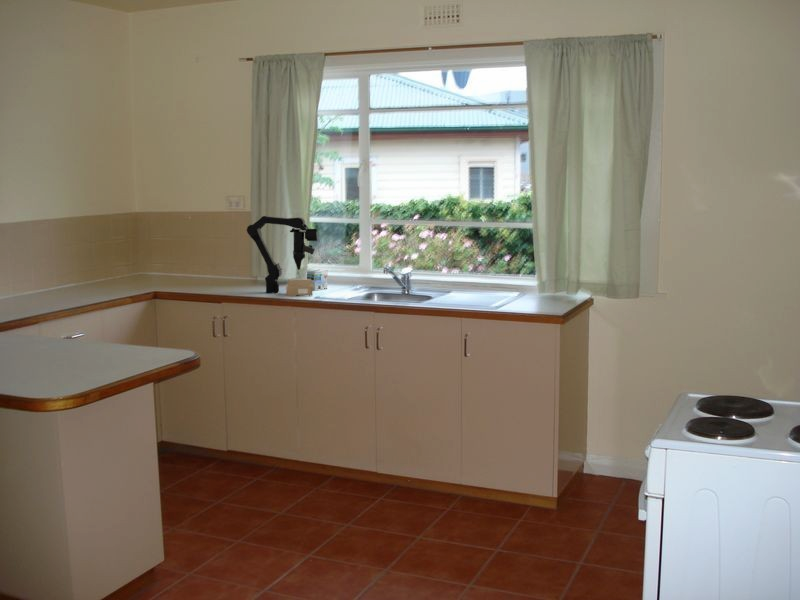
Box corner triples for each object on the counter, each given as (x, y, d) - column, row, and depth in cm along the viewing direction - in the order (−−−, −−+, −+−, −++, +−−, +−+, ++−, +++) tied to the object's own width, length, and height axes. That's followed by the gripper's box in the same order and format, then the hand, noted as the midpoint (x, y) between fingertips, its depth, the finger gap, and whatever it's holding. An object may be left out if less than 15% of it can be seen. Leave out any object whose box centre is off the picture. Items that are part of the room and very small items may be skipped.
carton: (285, 296, 463) (285, 286, 462) (285, 293, 473) (285, 283, 473) (312, 296, 465) (312, 286, 464) (311, 293, 475) (311, 283, 474)
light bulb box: (315, 290, 485) (315, 271, 484) (306, 289, 489) (306, 270, 488) (327, 289, 494) (328, 270, 492) (319, 287, 498) (319, 269, 496)
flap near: (287, 285, 462) (287, 286, 462) (287, 279, 458) (287, 279, 458) (310, 285, 464) (310, 286, 463) (310, 279, 460) (310, 279, 460)
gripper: (314, 242, 462) (314, 271, 464) (313, 239, 480) (313, 267, 483) (293, 242, 460) (293, 271, 463) (292, 239, 479) (292, 267, 481)
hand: (298, 269), depth 472 cm, fingers closed
